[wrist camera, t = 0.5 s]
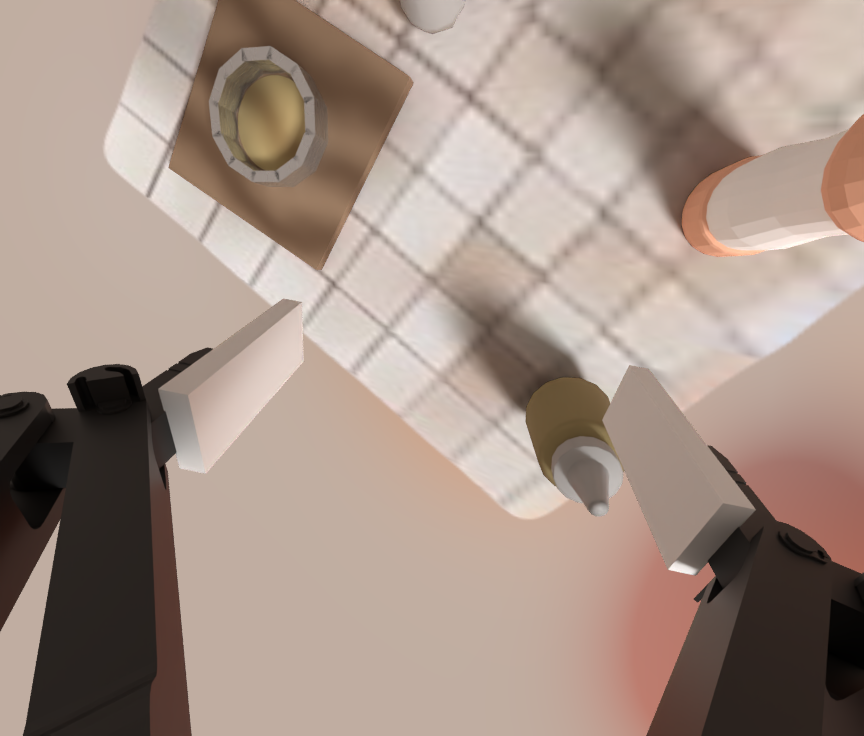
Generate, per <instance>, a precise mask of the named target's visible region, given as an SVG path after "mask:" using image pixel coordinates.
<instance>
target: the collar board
mask: <svg viewBox="0 0 864 736" xmlns="http://www.w3.org/2000/svg"><path fill="white" fill-rule="evenodd" d="M412 85H413V81H412V79H411V78H410V76H408V75H407V74H405V73H403V72H402V71H400V70H399V69H397V68H396V67H394V66H393V65H391V64H390V63H388V62H387V61H385V60H384V59H382V58H381V57H379V56H378V55H376V54H375V53H373V52H372V51H370V50H369V49H367V48H366V47H364V46H363V45H361V44H360V43H358V42H357V41H355V40H354V39H352V38H351V37H349V36H348V35H346V34H345V33H343V32H342V31H340V30H339V29H337V28H336V27H334V26H333V25H331V24H330V23H328V22H327V21H325V20H324V19H322V18H321V17H319V16H318V15H316V14H315V13H313V12H312V11H310V10H309V9H307V8H306V7H304V6H303V5H301V4H300V3H298V2H297V1H295V0H218V3H217V7H216V10H215V13H214V17H213V20H212V24H211V27H210V30H209V34H208V37H207V40H206V44H205V47H204V50H203V54H202V57H201V60H200V64H199V67H198V70H197V74H196V77H195V80H194V84H193V87H192V91H191V94H190V97H189V101H188V104H187V107H186V111H185V114H184V117H183V121H182V124H181V127H180V131H179V134H178V137H177V141H176V144H175V147H174V151H173V154H172V158H171V161H170V164H169V168H170V169H171V170H172V171H174V172H175V173H177V174H178V175H180V176H181V177H183V178H184V179H185V180H187V181H188V182H190V183H191V184H193V185H194V186H196V187H197V188H199V189H200V190H201V191H203V192H204V193H206V194H207V195H209V196H210V197H212V198H213V199H214V200H216V201H217V202H219V203H220V204H222V205H223V206H225V207H226V208H227V209H229V210H230V211H232V212H233V213H235V214H236V215H238V216H239V217H241V218H242V219H243V220H245V221H246V222H248V223H249V224H251V225H252V226H254V227H255V228H256V229H258V230H259V231H261V232H262V233H264V234H265V235H267V236H268V237H270V238H271V239H272V240H274V241H275V242H277V243H278V244H280V245H281V246H283V247H284V248H285V249H287V250H288V251H290V252H291V253H293V254H294V255H296V256H297V257H299V258H300V259H301V260H303V261H304V262H306V263H307V264H309V265H310V266H312V267H313V268H314V269H316V270H322V268H323V266H324V264H325V262H326V260H327V258H328V256H329V254H330V252H331V250H332V248H333V246H334V244H335V242H336V240H337V238H338V236H339V234H340V232H341V229H342V227H343V225H344V223H345V221H346V219H347V217H348V215H349V213H350V211H351V209H352V207H353V205H354V203H355V201H356V199H357V197H358V195H359V193H360V191H361V189H362V187H363V185H364V183H365V181H366V179H367V177H368V174H369V172H370V170H371V168H372V166H373V164H374V162H375V160H376V158H377V156H378V154H379V152H380V150H381V148H382V146H383V144H384V142H385V140H386V138H387V136H388V134H389V132H390V130H391V128H392V126H393V124H394V122H395V119H396V117H397V115H398V113H399V111H400V109H401V107H402V105H403V103H404V101H405V99H406V97H407V95H408V93H409V91H410V89H411V87H412Z"/></svg>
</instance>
